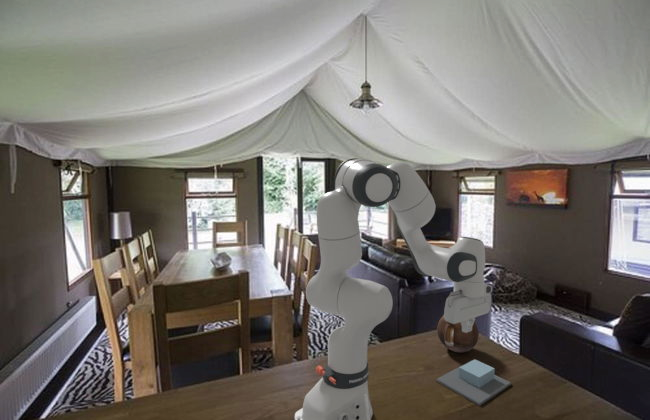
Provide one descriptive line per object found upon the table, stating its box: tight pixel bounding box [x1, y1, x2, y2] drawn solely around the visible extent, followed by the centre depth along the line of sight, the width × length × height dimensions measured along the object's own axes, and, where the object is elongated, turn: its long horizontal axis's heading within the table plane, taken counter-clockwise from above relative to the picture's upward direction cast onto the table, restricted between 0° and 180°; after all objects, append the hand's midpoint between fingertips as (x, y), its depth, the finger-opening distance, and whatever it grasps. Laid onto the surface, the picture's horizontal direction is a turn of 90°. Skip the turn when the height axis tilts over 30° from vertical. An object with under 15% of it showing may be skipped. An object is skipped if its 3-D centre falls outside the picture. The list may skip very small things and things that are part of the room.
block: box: [459, 359, 496, 388], centre depth 109 cm, size 4×7×9 cm
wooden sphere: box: [436, 315, 480, 353], centre depth 129 cm, size 15×15×15 cm
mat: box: [435, 361, 512, 407], centre depth 108 cm, size 18×15×1 cm
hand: (466, 331), depth 105 cm, fingers closed
